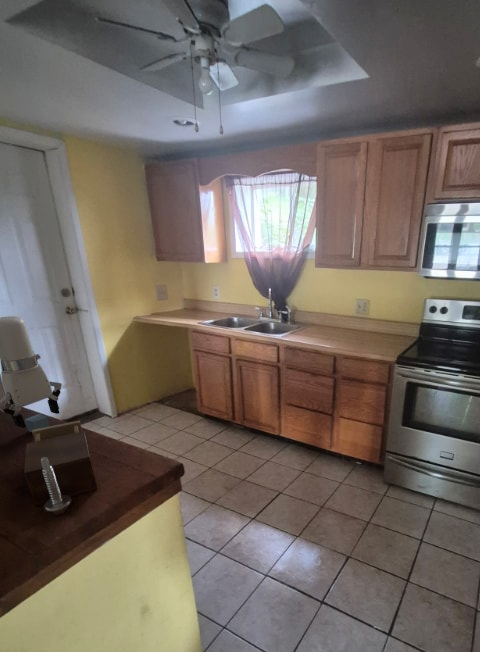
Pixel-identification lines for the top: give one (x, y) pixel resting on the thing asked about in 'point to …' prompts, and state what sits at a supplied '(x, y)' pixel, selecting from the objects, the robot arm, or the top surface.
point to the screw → (54, 491)
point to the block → (37, 422)
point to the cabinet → (60, 466)
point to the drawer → (56, 431)
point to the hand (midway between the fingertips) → (39, 419)
